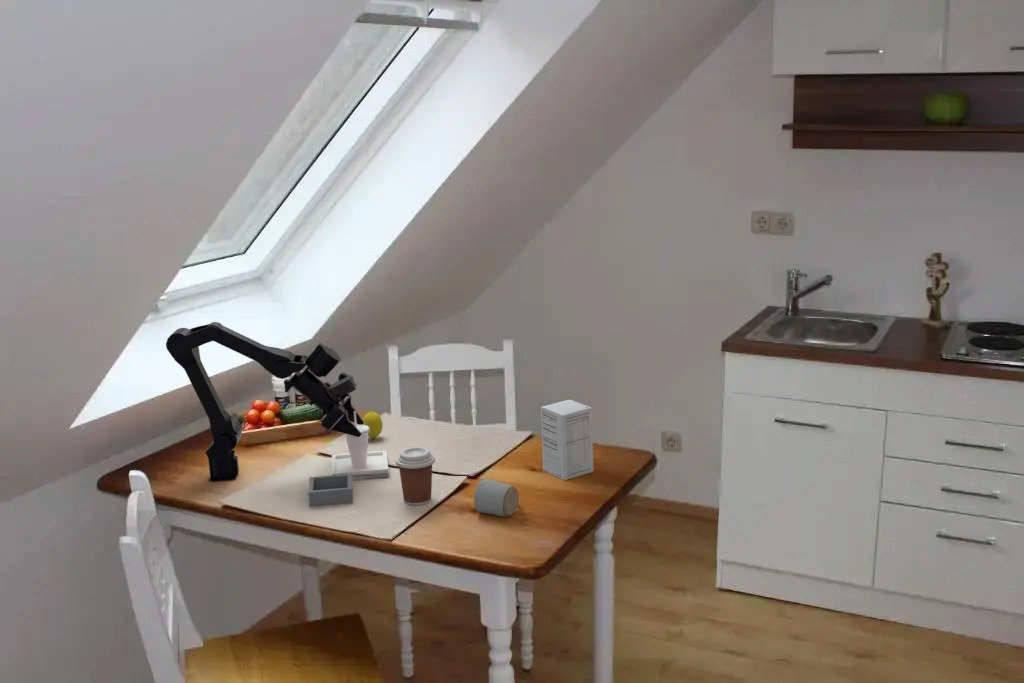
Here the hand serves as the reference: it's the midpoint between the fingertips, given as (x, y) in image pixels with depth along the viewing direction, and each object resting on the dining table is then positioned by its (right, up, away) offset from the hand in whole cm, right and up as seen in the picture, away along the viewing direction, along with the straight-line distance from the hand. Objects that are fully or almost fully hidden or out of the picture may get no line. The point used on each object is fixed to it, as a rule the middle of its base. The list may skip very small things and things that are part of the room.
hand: (361, 429), depth 266 cm
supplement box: (+52, -10, -4) cm, 53 cm away
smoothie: (-1, -9, +2) cm, 10 cm away
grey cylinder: (+35, -16, -27) cm, 47 cm away
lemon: (0, -5, +25) cm, 26 cm away
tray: (-1, -10, +2) cm, 11 cm away
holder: (-5, -15, -15) cm, 21 cm away
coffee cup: (+16, -15, -19) cm, 29 cm away
